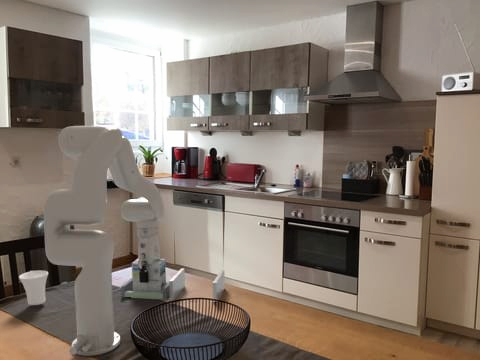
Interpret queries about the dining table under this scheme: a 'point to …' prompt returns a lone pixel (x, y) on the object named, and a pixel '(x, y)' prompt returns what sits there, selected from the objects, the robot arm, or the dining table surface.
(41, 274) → the cup
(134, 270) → the light bulb box
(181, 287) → the white holder
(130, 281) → the tray
